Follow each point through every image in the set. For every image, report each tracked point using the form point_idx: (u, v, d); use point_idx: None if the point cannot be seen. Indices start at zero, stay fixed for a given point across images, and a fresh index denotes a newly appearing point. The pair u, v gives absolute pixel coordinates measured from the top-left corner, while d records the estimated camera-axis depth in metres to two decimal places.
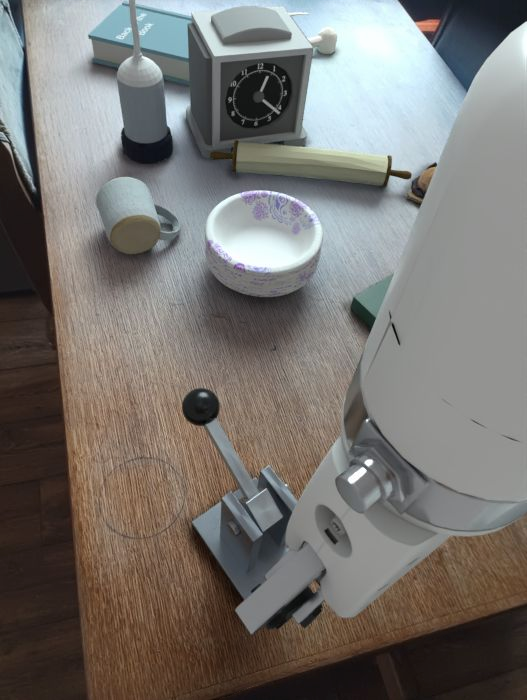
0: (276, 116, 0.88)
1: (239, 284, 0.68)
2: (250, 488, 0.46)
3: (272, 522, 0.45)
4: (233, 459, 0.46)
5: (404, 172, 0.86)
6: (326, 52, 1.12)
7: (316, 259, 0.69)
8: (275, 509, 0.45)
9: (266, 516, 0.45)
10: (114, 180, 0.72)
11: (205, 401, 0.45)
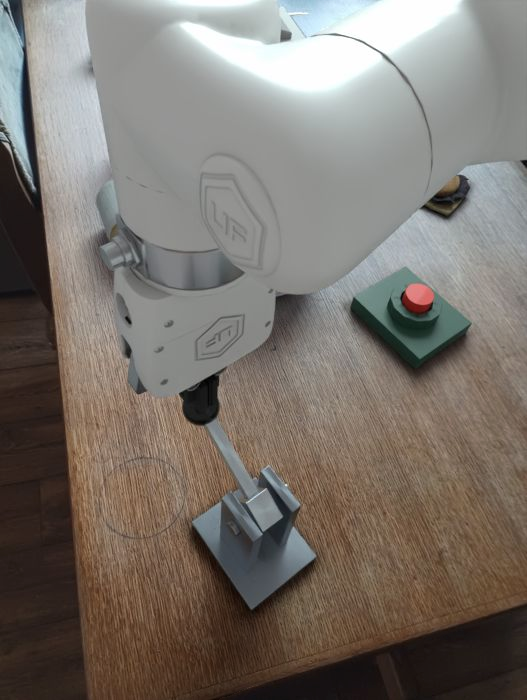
0: None
1: None
2: (250, 488, 0.46)
3: (272, 522, 0.45)
4: (233, 459, 0.46)
5: None
6: None
7: None
8: (275, 509, 0.45)
9: (266, 516, 0.45)
10: None
11: None
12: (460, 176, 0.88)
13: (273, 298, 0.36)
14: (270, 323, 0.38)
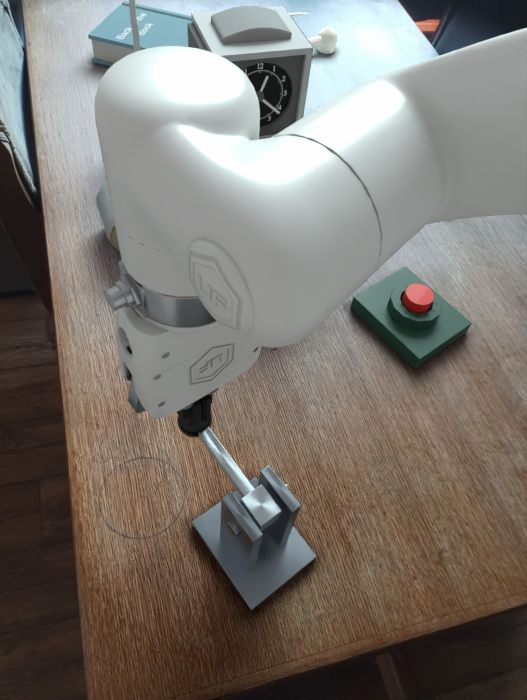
0: (276, 116, 0.88)
1: None
2: (246, 487, 0.46)
3: (270, 516, 0.45)
4: (227, 461, 0.47)
5: None
6: (326, 52, 1.12)
7: None
8: (272, 503, 0.45)
9: (263, 510, 0.45)
10: None
11: None
12: None
13: None
14: (258, 349, 0.41)
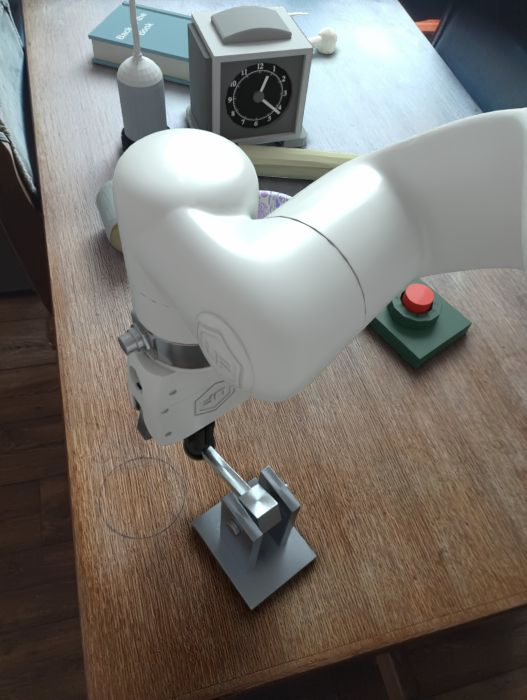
0: (276, 116, 0.88)
1: None
2: (245, 490, 0.47)
3: (266, 509, 0.45)
4: (227, 471, 0.49)
5: None
6: (326, 52, 1.12)
7: None
8: (268, 498, 0.45)
9: (259, 505, 0.45)
10: None
11: None
12: None
13: None
14: None
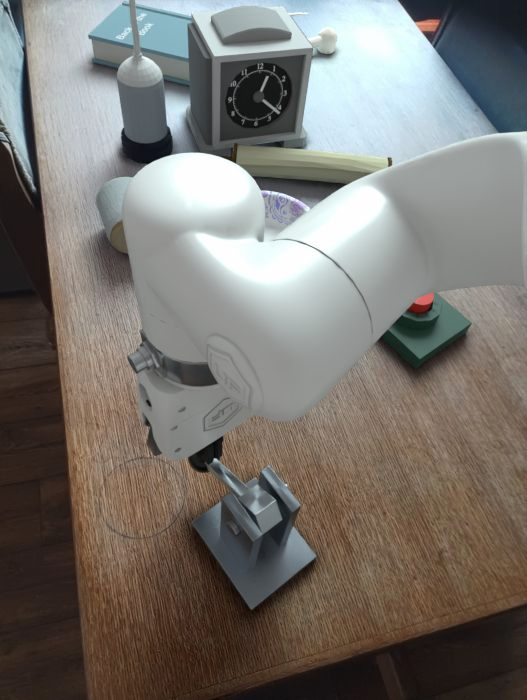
0: (276, 116, 0.88)
1: None
2: (246, 492, 0.47)
3: (264, 506, 0.45)
4: (229, 477, 0.50)
5: None
6: (326, 52, 1.12)
7: None
8: (267, 496, 0.45)
9: (258, 503, 0.45)
10: (114, 180, 0.72)
11: None
12: None
13: None
14: None
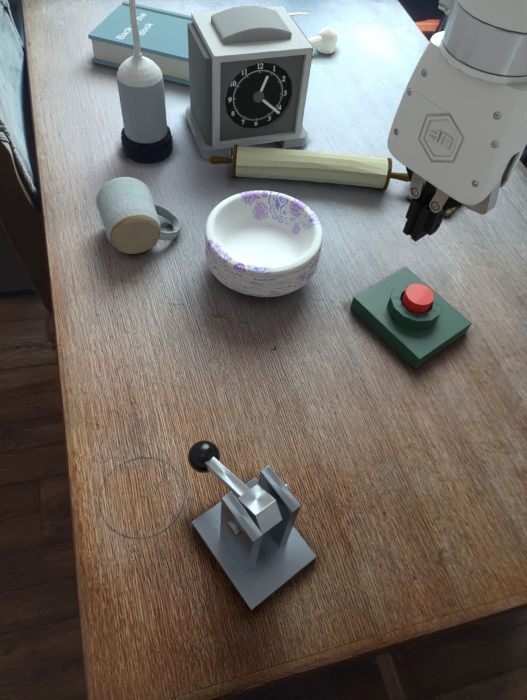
0: (276, 116, 0.88)
1: (239, 284, 0.68)
2: (246, 492, 0.47)
3: (264, 506, 0.45)
4: (229, 477, 0.50)
5: (404, 174, 0.86)
6: (326, 52, 1.12)
7: (316, 259, 0.69)
8: (267, 496, 0.45)
9: (258, 503, 0.45)
10: (114, 180, 0.72)
11: (199, 442, 0.53)
12: None
13: (491, 158, 0.41)
14: (477, 187, 0.43)
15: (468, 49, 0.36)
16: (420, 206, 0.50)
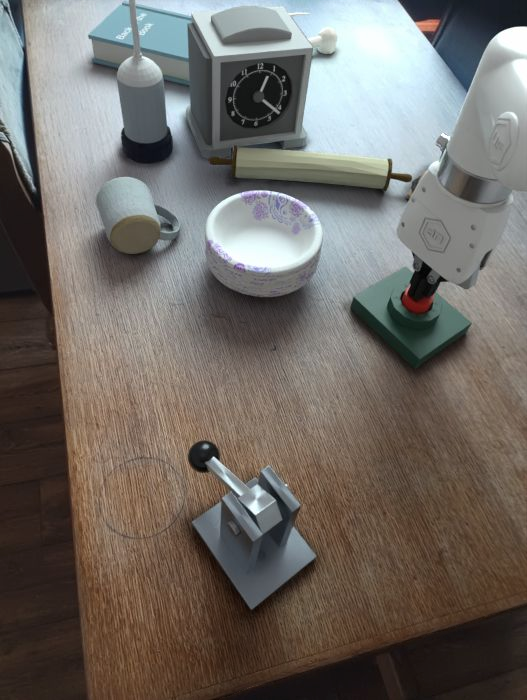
0: (276, 116, 0.88)
1: (239, 284, 0.68)
2: (246, 492, 0.47)
3: (264, 506, 0.45)
4: (229, 477, 0.50)
5: (404, 175, 0.85)
6: (326, 52, 1.12)
7: (316, 259, 0.69)
8: (267, 496, 0.45)
9: (258, 503, 0.45)
10: (114, 180, 0.72)
11: (199, 442, 0.53)
12: None
13: (470, 255, 0.56)
14: (460, 272, 0.58)
15: (453, 183, 0.52)
16: (420, 277, 0.65)
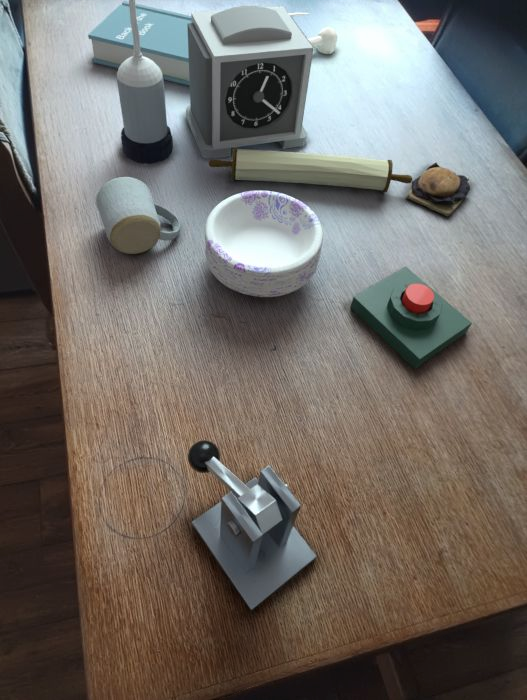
0: (276, 116, 0.88)
1: (239, 284, 0.68)
2: (246, 492, 0.47)
3: (264, 506, 0.45)
4: (229, 477, 0.50)
5: (405, 176, 0.85)
6: (326, 52, 1.12)
7: (316, 259, 0.69)
8: (267, 496, 0.45)
9: (258, 503, 0.45)
10: (114, 180, 0.72)
11: (199, 442, 0.53)
12: (460, 176, 0.88)
13: None
14: None
15: None
16: None
